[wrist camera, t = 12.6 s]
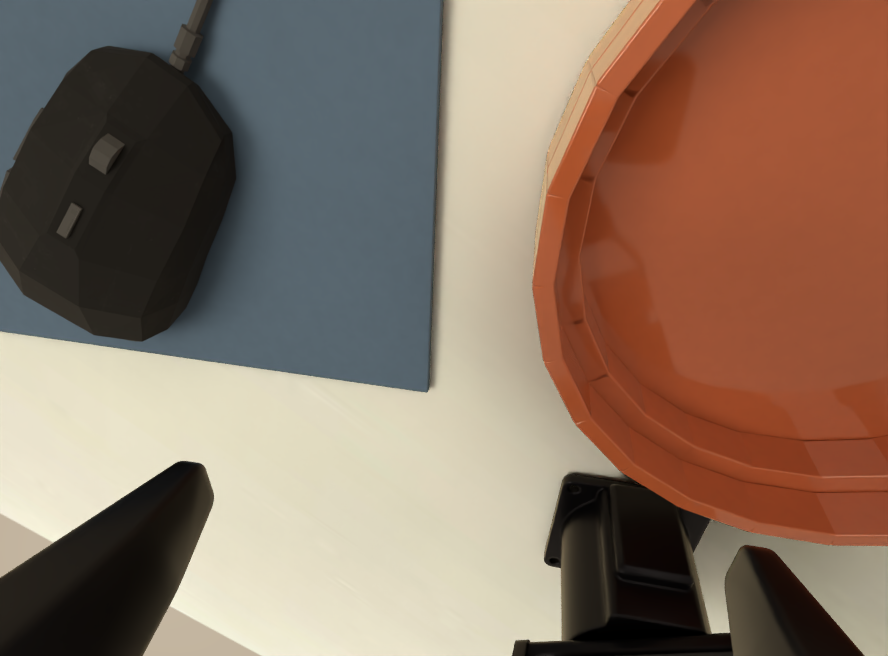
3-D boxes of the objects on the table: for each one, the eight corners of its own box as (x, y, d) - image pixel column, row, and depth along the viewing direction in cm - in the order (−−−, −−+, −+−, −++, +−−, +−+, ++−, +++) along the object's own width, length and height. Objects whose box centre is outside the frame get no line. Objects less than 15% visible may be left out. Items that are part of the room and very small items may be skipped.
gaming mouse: (317, 45, 16) (256, 68, 13) (167, 351, 24) (106, 414, 21) (113, -112, 14) (-14, -131, 11) (27, 268, 22) (-62, 322, 19)
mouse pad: (429, 386, 23) (427, 393, 23) (-16, 323, 25) (-23, 328, 25) (450, -198, 13) (447, -201, 12) (-301, -214, 15) (-320, -218, 15)
